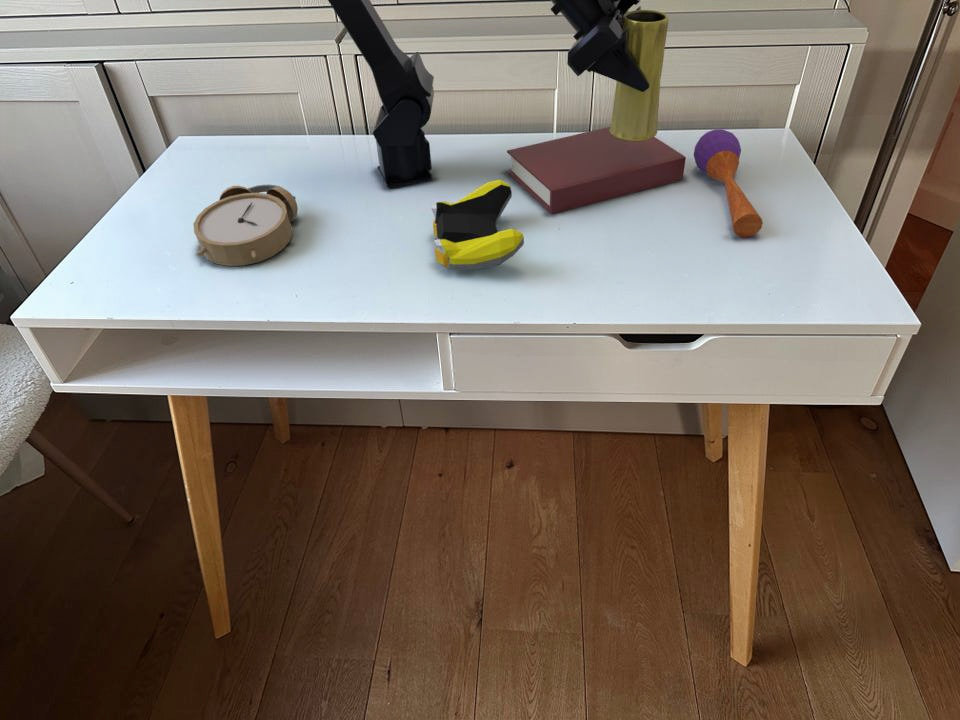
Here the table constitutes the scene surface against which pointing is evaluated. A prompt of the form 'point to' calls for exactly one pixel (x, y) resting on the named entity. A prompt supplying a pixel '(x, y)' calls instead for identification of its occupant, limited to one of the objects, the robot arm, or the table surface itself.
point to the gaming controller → (475, 229)
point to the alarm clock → (246, 225)
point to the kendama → (727, 177)
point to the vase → (647, 46)
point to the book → (592, 168)
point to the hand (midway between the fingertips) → (649, 81)
